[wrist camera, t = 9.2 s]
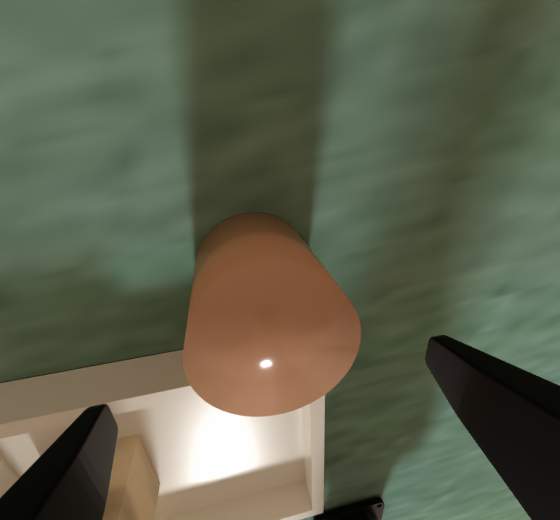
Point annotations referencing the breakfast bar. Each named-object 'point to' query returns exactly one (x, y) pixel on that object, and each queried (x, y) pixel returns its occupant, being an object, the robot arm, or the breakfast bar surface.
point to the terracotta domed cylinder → (265, 320)
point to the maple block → (132, 483)
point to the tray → (176, 439)
